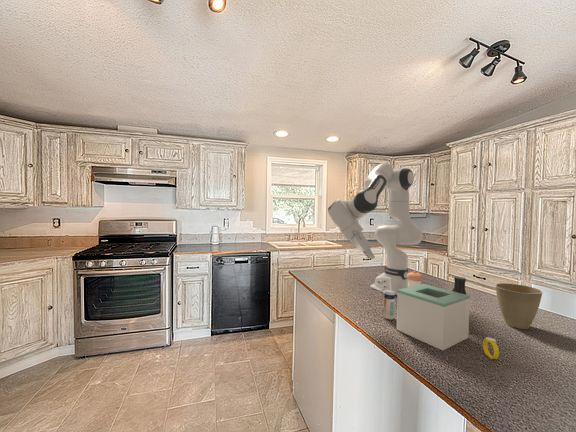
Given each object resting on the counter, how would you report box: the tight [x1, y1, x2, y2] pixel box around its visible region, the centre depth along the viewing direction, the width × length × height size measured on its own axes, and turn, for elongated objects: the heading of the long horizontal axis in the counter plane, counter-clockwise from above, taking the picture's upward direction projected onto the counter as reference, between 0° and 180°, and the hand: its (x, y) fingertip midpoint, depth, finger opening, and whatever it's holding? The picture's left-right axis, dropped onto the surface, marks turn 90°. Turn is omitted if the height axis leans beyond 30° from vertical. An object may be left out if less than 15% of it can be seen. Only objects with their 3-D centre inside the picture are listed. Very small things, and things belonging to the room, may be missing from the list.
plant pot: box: [494, 282, 543, 330], centre depth 110 cm, size 15×15×16 cm
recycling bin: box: [396, 283, 471, 351], centre depth 101 cm, size 18×18×16 cm
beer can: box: [382, 290, 396, 320], centre depth 116 cm, size 5×5×12 cm
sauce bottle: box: [451, 276, 468, 295], centre depth 110 cm, size 7×6×20 cm
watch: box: [482, 336, 500, 360], centre depth 86 cm, size 6×3×6 cm, turn 173°
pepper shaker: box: [407, 270, 424, 287], centre depth 124 cm, size 7×7×19 cm
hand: (371, 257), depth 115 cm, fingers open, 8 cm apart
